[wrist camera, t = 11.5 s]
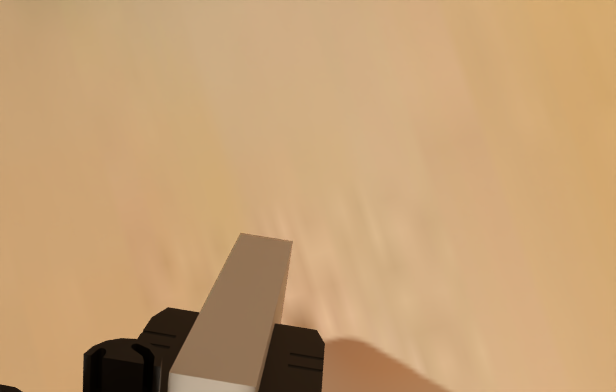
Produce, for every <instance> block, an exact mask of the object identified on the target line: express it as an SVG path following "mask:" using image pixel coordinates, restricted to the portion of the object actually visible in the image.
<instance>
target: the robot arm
mask: <svg viewBox="0 0 616 392" xmlns="http://www.w3.org/2000/svg"><path fill="white" fill-rule="evenodd" d="M292 243H293V241H287V240H281V239H275V238H269V237H263V236H256V235H250V234H244V233H240V235H239V237H238V239H237V241H236V243H235V245H234V247H233V249H232V251H231V253H230V254H229V256H228V258H227V260H226V262H225V264H224V266H223V268H222V270H221V272H220V274H219V276H218V278H217V280H216V282H215V284H214V286H213V288H212V290H211V292H210V294H209V295H208V297H207V299H206V301H205V303H204V305H203V307H202V309H201V311H200V313H199V312H193V311H187V310H181V309H175V308H169V307H168V308H166V309H165V310H163V311H161V312H160V313H158V314H156V315H155V316H153V317H152V318H151V319H150V321H149V322H148V324H147V325H146V327H145V328H144V330H143V333H141V334H140V336H139V337H138V339H126V338H120V339H114V340H108V341H105V342H102V343H100V344H97V345H95V346H93V347H92V348H90V349H89V350H88V351H87V352H86V353H84V365H83V392H321V389H322V376H323V360H324V348H325V343H324V342H323V340H322V338H321V337H320V335H319V333H318V331H317V330H313V329H307V328H301V327H294V326H288V325H282V324H281V318H282V311H283V304H284V297H285V291H286V284H287V277H288V270H289V263H290V256H291V249H292ZM0 392H22V391H20V390H19V389H17V388H16V387H11V386H6V385H0Z"/></svg>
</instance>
